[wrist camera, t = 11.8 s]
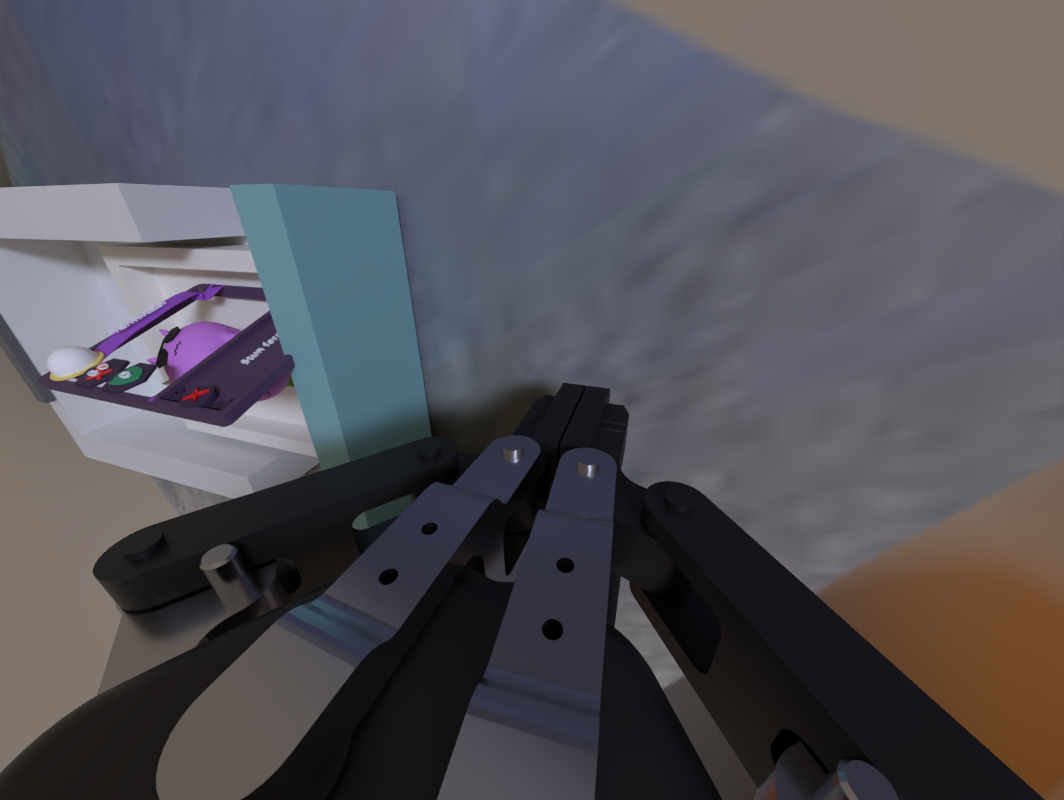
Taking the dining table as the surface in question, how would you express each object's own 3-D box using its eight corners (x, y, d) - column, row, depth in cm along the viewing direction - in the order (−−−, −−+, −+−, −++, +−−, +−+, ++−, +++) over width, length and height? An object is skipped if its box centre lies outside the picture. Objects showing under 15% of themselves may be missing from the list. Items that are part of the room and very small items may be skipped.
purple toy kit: (199, 401, 10) (9, 364, 13) (304, 499, 14) (142, 455, 16) (350, 277, 14) (187, 268, 17) (399, 377, 18) (259, 357, 21)
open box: (335, 451, 23) (252, 511, 18) (177, 417, 27) (76, 460, 22) (257, 189, 17) (101, 182, 12) (65, 194, 20) (-108, 190, 16)
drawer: (437, 475, 20) (374, 549, 16) (245, 433, 24) (152, 483, 20) (394, 190, 14) (273, 184, 10) (146, 196, 18) (-20, 193, 14)
